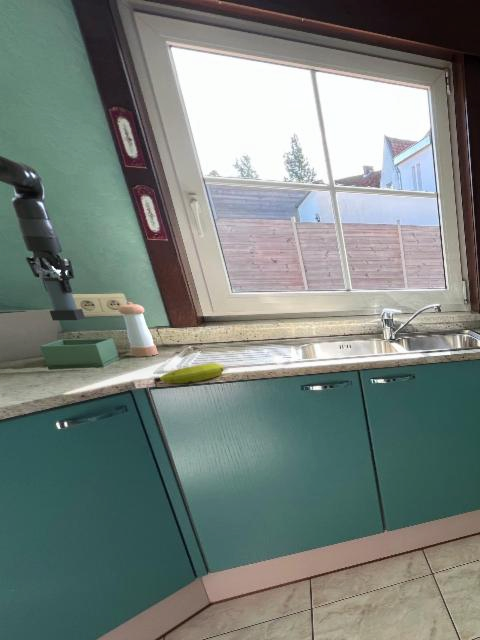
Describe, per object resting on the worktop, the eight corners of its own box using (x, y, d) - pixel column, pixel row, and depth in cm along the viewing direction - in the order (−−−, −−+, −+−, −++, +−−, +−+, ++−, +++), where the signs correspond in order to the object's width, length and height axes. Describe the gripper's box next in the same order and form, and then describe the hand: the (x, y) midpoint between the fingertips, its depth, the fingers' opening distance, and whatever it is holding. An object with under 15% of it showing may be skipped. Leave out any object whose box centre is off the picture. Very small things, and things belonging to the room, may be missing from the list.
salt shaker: (139, 353, 185) (123, 300, 178) (162, 353, 187) (147, 301, 180) (127, 357, 179) (110, 302, 172) (151, 356, 180) (135, 303, 173)
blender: (52, 320, 157) (37, 277, 152) (61, 318, 162) (46, 276, 157) (77, 320, 159) (62, 277, 154) (85, 318, 164) (71, 277, 159)
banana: (229, 359, 162) (182, 366, 161) (196, 366, 146) (142, 374, 144) (235, 372, 163) (187, 379, 162) (202, 381, 147) (149, 389, 146)
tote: (48, 369, 158) (39, 346, 155) (68, 361, 169) (60, 339, 166) (103, 367, 163) (96, 344, 161) (119, 359, 175) (112, 338, 172)
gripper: (5, 233, 149) (27, 292, 155) (43, 235, 147) (64, 294, 153) (35, 235, 156) (55, 290, 162) (73, 236, 153) (91, 292, 160)
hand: (59, 292), depth 157 cm, fingers closed on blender, 5 cm apart
